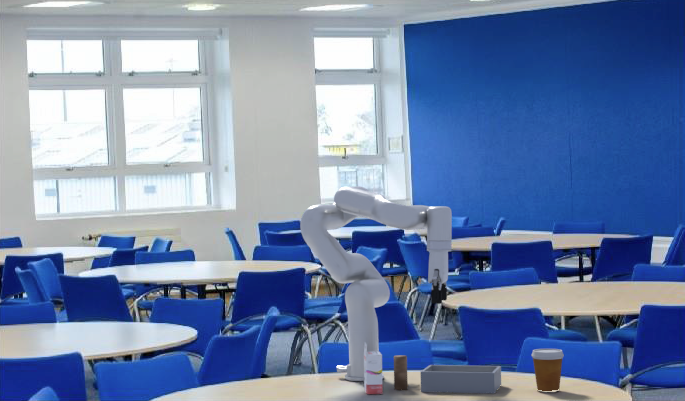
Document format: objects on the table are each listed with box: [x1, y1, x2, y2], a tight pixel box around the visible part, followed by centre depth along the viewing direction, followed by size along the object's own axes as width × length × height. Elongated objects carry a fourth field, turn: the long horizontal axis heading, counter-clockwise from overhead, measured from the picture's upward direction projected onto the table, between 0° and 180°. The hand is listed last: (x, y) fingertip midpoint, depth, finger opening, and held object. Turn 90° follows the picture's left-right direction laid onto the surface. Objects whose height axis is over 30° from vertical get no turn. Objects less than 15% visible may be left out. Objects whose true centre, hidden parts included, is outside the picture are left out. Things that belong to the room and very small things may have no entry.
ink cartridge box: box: [363, 343, 384, 395], centre depth 365 cm, size 9×5×15 cm, turn 5°
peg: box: [393, 354, 409, 391], centre depth 369 cm, size 4×4×10 cm
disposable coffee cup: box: [530, 348, 565, 391], centre depth 359 cm, size 10×10×12 cm
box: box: [420, 364, 502, 394], centre depth 367 cm, size 22×14×6 cm, turn 75°
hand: (439, 301), depth 376 cm, fingers open, 9 cm apart
